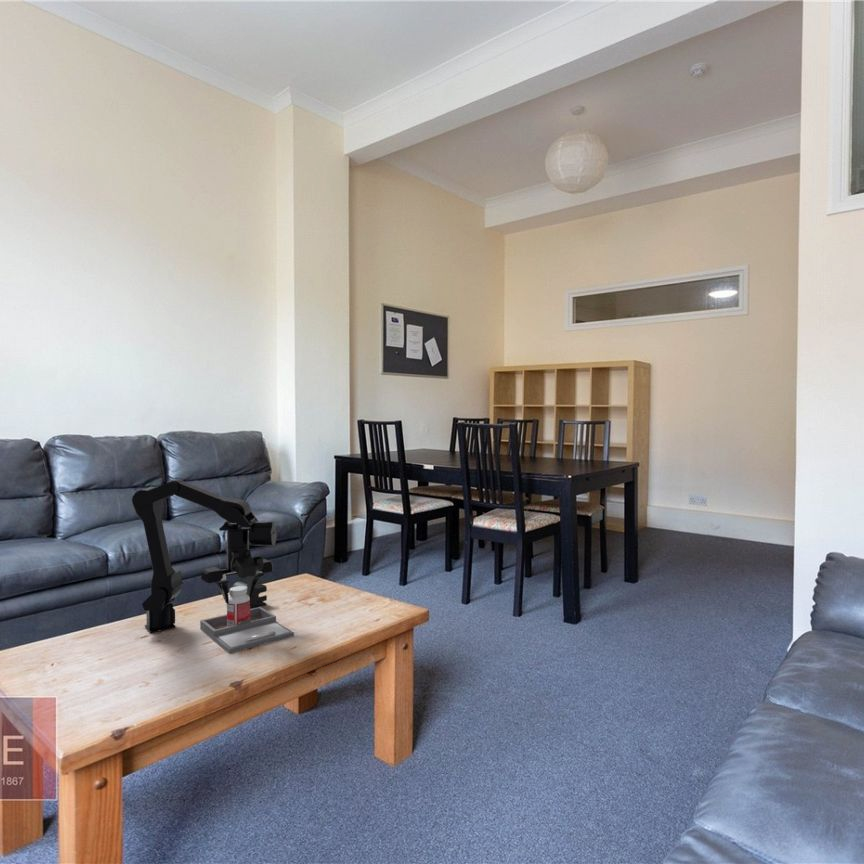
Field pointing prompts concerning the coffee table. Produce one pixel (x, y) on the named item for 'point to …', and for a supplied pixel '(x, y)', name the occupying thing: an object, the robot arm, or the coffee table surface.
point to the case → (209, 623)
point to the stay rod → (260, 636)
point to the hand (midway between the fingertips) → (238, 600)
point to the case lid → (237, 638)
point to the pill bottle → (238, 606)
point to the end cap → (255, 594)
